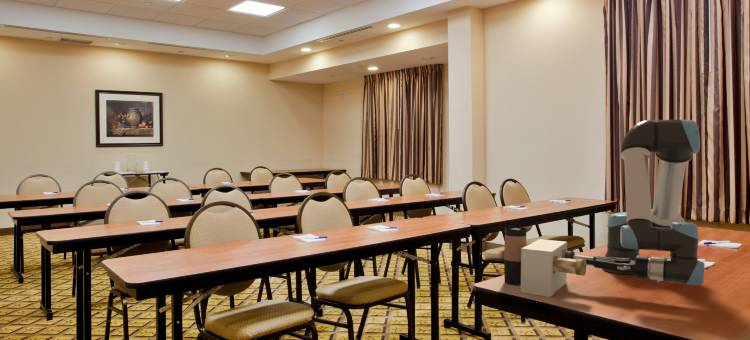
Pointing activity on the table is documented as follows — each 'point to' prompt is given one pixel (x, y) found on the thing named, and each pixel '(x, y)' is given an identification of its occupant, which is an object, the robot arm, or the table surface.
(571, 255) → the tan cylindrical part
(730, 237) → the table surface
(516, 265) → the travel mug
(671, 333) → the table surface
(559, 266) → the brass plunger
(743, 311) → the table surface
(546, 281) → the housing
